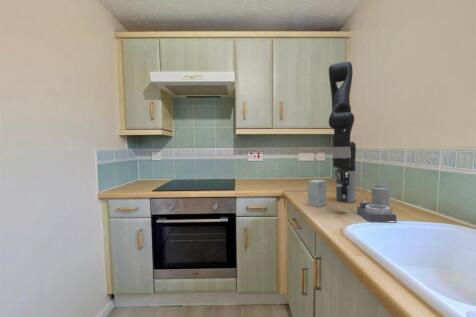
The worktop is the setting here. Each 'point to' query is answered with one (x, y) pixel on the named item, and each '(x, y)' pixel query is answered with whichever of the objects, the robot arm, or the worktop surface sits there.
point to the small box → (317, 193)
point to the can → (381, 194)
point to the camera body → (375, 211)
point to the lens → (338, 192)
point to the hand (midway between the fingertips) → (342, 193)
